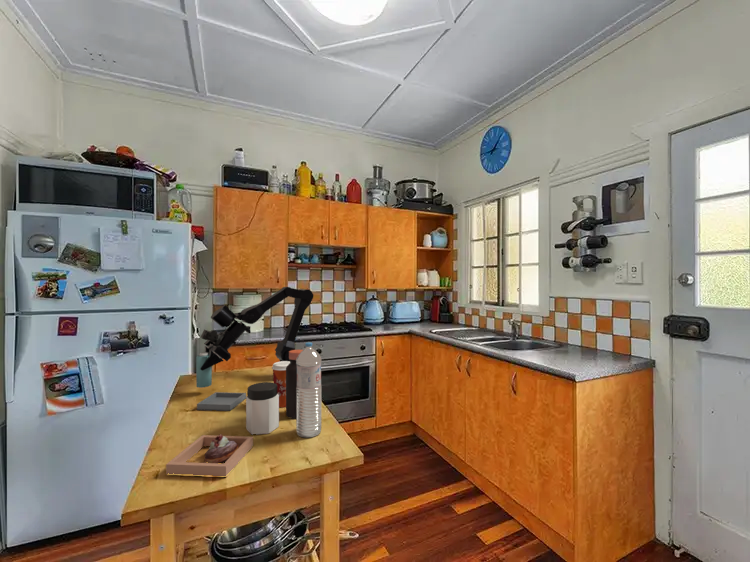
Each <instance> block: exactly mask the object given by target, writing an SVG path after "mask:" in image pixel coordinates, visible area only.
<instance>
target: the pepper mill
mask: <svg viewBox="0 0 750 562" xmlns="http://www.w3.org/2000/svg"><path fill="white" fill-rule="evenodd" d="M208 357H209V354H208V352H205V351H203V352H199V355H196V357H195V358H196V359H195V363H196V365H195V367H196V369H195V370H196V372H195V373H196V374H195V375H196V378H195V379H196V388H199V389H201V388H202V389H203V388H207V387H210V386H212V383H213V382H212V380H213V379H212V371H213V370H212V366H211V367H209V368H207V369H205V370H203V371H202V370H201V369H200V368H201V367H202V365H203V364H204V362H205V361H206V360H207V358H208Z"/></svg>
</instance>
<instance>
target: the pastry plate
mask: <svg viewBox="0 0 750 562" xmlns="http://www.w3.org/2000/svg"><path fill="white" fill-rule="evenodd" d="M217 436H218V435H212V434H211V435H210V434H209V435H207V434H202V435H201V436H200V437H198V438H197V439H195V440H194V441H193V442H191V444H189V445H188V446H187V447H185V448H184V449H183V450H182V451H180V452H179V453H178V454H177V455H176V456H175V457H173V458H172V459H171V460H170V461H168V462H167V463H166V464H165V465H166V466H165V473H166V474H168V473H169V474H173V473H174V474H193V475H213V476H226V475H227V474H228V473H229V472H230V471H231V470H232V469H233V468H234V467H235V466H236V465H237V464H238V462H239V461H240V460H241V459H242V458H243V457H244V458H245V457H246V455H247V454H248V453H249V452H248V451H249V450H250V451H251V449H252V448H253V447H254V436H243V435H223V436H224V437H226V438H227V439H228V441H234V442H236V443H237V444H238V447H239V448H238V449H237V450H236V451H235V452H234V453H233V455H232V456H231V457H230V458H229V459H228V460H227V461H226V462H225V463H222V464H218V463H206V462H188V461H189V460H191V459H192V458H193V457H194V456H195V455H196V454H197V453H199V452H200V451H201V450H202V449H203V448H204V447H203V446H209V445H210V443H211V442H212V439H214V438H216V437H217ZM252 446H253V447H252ZM202 447H203V448H202ZM201 448H202V449H201ZM200 449H201V450H200ZM199 450H200V451H199ZM198 451H199V452H198ZM247 452H248V453H247ZM195 453H196V454H195ZM246 453H247V454H246ZM194 454H195V455H194ZM245 454H246V455H245ZM193 455H194V456H193ZM192 456H193V457H192ZM191 457H192V458H191ZM190 458H191V459H190ZM244 458H243V459H244ZM188 459H189V460H188ZM243 459H242V460H243ZM187 460H188V461H187ZM242 460H241V461H242ZM186 461H187V462H186ZM241 461H240V462H241ZM240 462H239V463H240ZM238 465H239V464H238ZM238 465H237V466H238ZM237 466H236V467H237ZM236 467H235V468H236ZM235 468H234V469H235ZM234 469H233V470H234ZM166 474H165V475H166Z"/></svg>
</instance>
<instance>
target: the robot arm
mask: <svg viewBox="0 0 750 562" xmlns="http://www.w3.org/2000/svg"><path fill="white" fill-rule="evenodd" d="M288 297H289V298H293V299H294V300H293V301H294V302H293V303H294V308H293V311H292V315H291V318H290V320H289V323H288V326H287V328H286V329H287V330H286V332H285V335H284V337H283V339H282V341H279V340H278V341H277V345H276V348H274V351H275V352H274V353H275V354H274V355H275V356H276V358H277V359H278V361H279V362H281V361H290V360H289V351H291V350H296V339H297V336H298V333H299V329H300V326H301V324H302V320H303V318H304V315H305V312H306V310H307V309H308V307H310V305H311V303H312V302H313V299H314V293H313V291H312V290H311V289H308V288H307V289H304V288H301V289H299V288H298V289H297V288H293V287H290V286H283V287H282V288H281V289H280V290H277V291H276V292H274V293H273V294H272V295H269V296H268V297H267V298H265V299H264V300H262V301H260V302H259V303H257V304H254V305H251V306H248V307H246V308H243V309H242V310H241V311H240V312H233V311H232V310H231V309H230V308H229V307H228V306H227V305H225V304H224V305H222V306H221V307H220V308H218V309H217V310H215V311H214V312H213V313H212V314H211V316H210V319H211V320H213V321H214V322H215V323H216V324H218V326H220V327H221V328H224V327H226V328H225V330H224V331H221V332H219V333H218V331H216V330H213V329H211V330H208V329H203V331H202V333H201V336H200V338H201V339H203V340H205V342H204V345H205V346H204V352H208V354H209V357H208V358H207V360H206V361H205V362H204V364H203V365H202V367H201V368H200V369H201V370H202V371H203V370H205V369H207V368H209V367H211V368H212V367H213V366H214V365H217V364H219V363H221V362H224V360H225V361H226V362H228V361H229V360H231V358H232V354H231V352H229V349H230V348H231V347H232V346H233V345H236V344H237V340H239V338H240V337H242V335H243V334H244V333H245V332H246V333H247V334H251V333H252V332H251V326H250V325H253V324H255V323H256V322H258V321H259V320H260V319H261V318H262V317H263V316H264V314H265V313H266V312H268V311H269V310H271V309H272V308H273V307H275V306H277V305H278V304H279V303H281V302H283V300H285V299H287V298H288ZM239 321H240V322H239ZM246 324H249V325H246Z"/></svg>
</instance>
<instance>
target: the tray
mask: <svg viewBox="0 0 750 562" xmlns="http://www.w3.org/2000/svg"><path fill="white" fill-rule="evenodd" d="M246 397H247V392H228V391H227V392H226V391H225V392H224V391H223V392H222V391H221V392H220V391H216V392H214V393H212V394H210V395H209V396H207V397H206V398H204V399H202V400H201V401H199V402H198V403H196V411H212V410H216V412H221V411H222V412H231V411H232V410H234V409H235V408H236V407H237V406H238V405H240V404H241V403H242V402H244V401H245V400H246Z"/></svg>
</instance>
